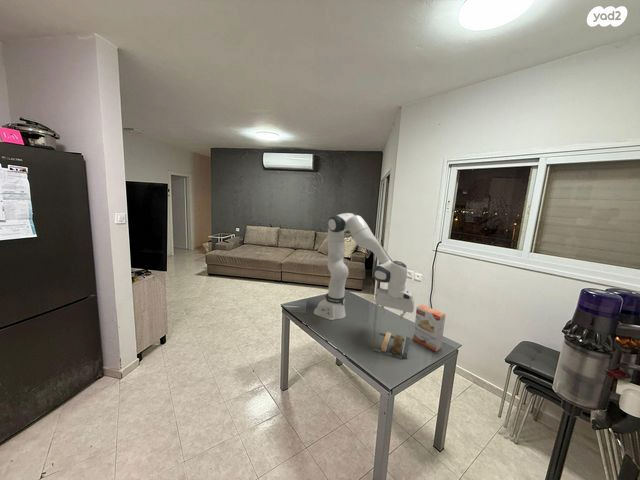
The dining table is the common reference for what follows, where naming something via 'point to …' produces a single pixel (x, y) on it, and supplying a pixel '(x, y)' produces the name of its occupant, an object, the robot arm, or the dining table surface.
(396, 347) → the walnut block
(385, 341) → the sliding jaw
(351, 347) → the dining table surface
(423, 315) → the cracker box
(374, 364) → the dining table surface
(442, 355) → the dining table surface
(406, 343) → the base
